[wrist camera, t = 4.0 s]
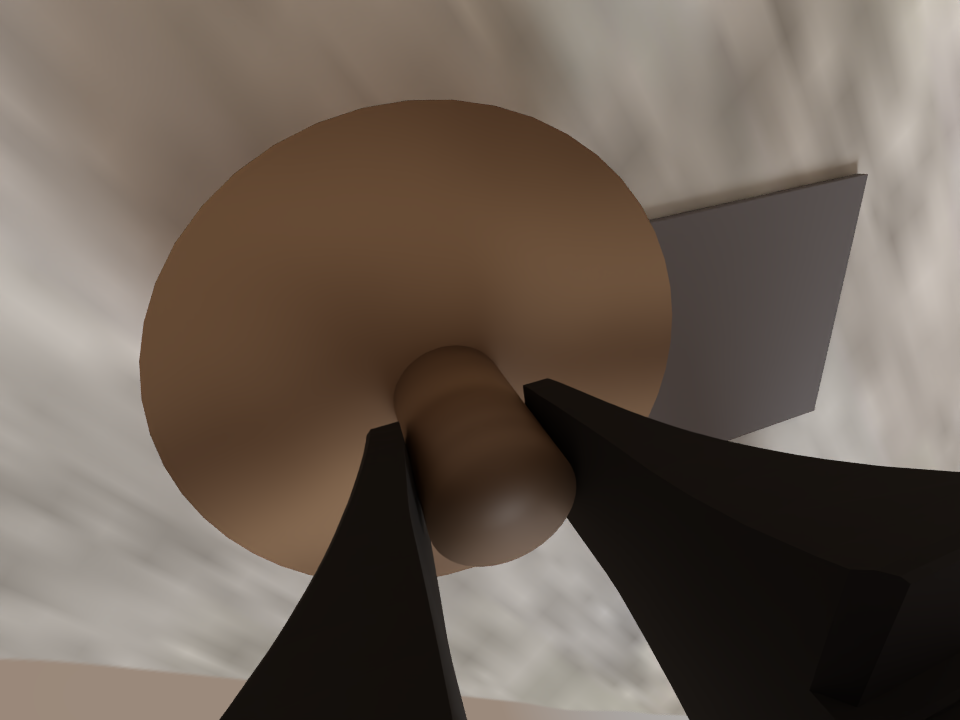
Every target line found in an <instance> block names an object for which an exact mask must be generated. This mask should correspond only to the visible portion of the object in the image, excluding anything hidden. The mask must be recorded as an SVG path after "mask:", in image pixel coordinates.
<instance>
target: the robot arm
mask: <svg viewBox="0 0 960 720" xmlns="http://www.w3.org/2000/svg"><path fill="white" fill-rule="evenodd" d="M523 392H524V401H525V404H526V406H527V407H528V408H529V410H530V411H531V412H532V414H533V415H534V416H535V418H536V419H537V420H538V422H539V423H540V424H541V426H542V427H543V428H544V430H545V431H546V432H547V434H548V435H549V436H550V438H551V439H552V440H553V442H554V443H555V444H556V446H557V447H558V448H559V450H560V451H561V452H562V454H563V455H564V456H565V458H566V459H567V460H568V462H569V463H570V465H571V466H572V469H573V471H574V474H575V478H576V495H575V499H574V503H573V505H572V508H571V510H570V512H569V514H568V516H567V518H568V520H569V521H570V523H571V524H572V525H573V527H574V528H575V530H576V531H577V533H578V534H579V535H580V537H581V538H582V540H583V541H584V542H585V544H586V545H587V547H588V548H589V549H590V551H591V552H592V554H593V555H594V556H595V558H596V559H597V561H598V562H599V563H600V565H601V566H602V568H603V569H604V570H605V572H606V573H607V575H608V576H609V578H610V579H611V581H612V582H613V584H614V586H615V587H616V589H617V590H618V592H619V593H620V595H621V597H622V598H623V600H624V602H625V604H626V605H627V607H628V609H629V611H630V612H631V614H632V616H633V618H634V619H635V621H636V623H637V625H638V626H639V628H640V630H641V632H642V633H643V635H644V637H645V639H646V640H647V642H648V644H649V646H650V648H651V650H652V651H653V653H654V655H655V657H656V659H657V660H658V662H659V664H660V666H661V668H662V670H663V671H664V673H665V675H666V677H667V679H668V680H669V682H670V684H671V686H672V688H673V690H674V691H675V693H676V695H677V697H678V699H679V701H680V703H681V705H682V707H683V709H684V711H685V712H686V714H687V716H688V718H689V720H960V472H951V471H938V470H925V469H911V468H898V467H885V466H875V465H867V464H859V463H851V462H843V461H835V460H827V459H820V458H814V457H807V456H801V455H794V454H789V453H784V452H778V451H773V450H768V449H763V448H757V447H752V446H748V445H743V444H739V443H734V442H730V441H726V440H722V439H718V438H714V437H710V436H707V435H703V434H699V433H695V432H691V431H688V430H685V429H681V428H678V427H675V426H672V425H669V424H666V423H663V422H660V421H657V420H654V419H651V418H648V417H645V416H642V415H640V414H637V413H634V412H631V411H629V410H626V409H624V408H621V407H618V406H616V405H613V404H611V403H608V402H606V401H603V400H601V399H599V398H596V397H594V396H591V395H589V394H587V393H584V392H582V391H580V390H577V389H575V388H572V387H570V386H568V385H565V384H563V383H560V382H558V381H555V380H552V379H549V378H546V379H543V380H539V381H536V382H532V383H529V384H525V385H523ZM220 720H467V718H466V714H465V710H464V707H463V702H462V699H461V695H460V691H459V687H458V683H457V679H456V675H455V671H454V667H453V663H452V659H451V654H450V649H449V645H448V640H447V634H446V628H445V622H444V616H443V610H442V604H441V598H440V592H439V586H438V580H437V574H436V568H435V562H434V556H433V551H432V545H431V540H430V537H429V534H428V530H427V526H426V523H425V519H424V515H423V512H422V508H421V505H420V501H419V497H418V494H417V489H416V484H415V479H414V474H413V470H412V467H411V463H410V459H409V456H408V452H407V448H406V444H405V441H404V437H403V433H402V430H401V426H400V423H399V421H398V422H394V423H391V424H387V425H384V426H380V427H377V428H373V429H370V431H369V432H368V434H367V435H366V443H365V448H364V452H363V456H362V460H361V464H360V467H359V471H358V474H357V477H356V480H355V483H354V486H353V489H352V492H351V495H350V498H349V500H348V503H347V505H346V508H345V510H344V513H343V515H342V517H341V520H340V522H339V524H338V527H337V529H336V532H335V534H334V536H333V538H332V541H331V543H330V545H329V547H328V549H327V551H326V553H325V555H324V557H323V559H322V561H321V563H320V565H319V567H318V569H317V571H316V573H315V574H314V576H313V578H312V580H311V582H310V584H309V586H308V587H307V589H306V591H305V592H304V594H303V596H302V598H301V599H300V601H299V603H298V604H297V606H296V608H295V609H294V611H293V613H292V614H291V616H290V618H289V619H288V621H287V623H286V624H285V626H284V627H283V629H282V631H281V632H280V634H279V635H278V637H277V638H276V640H275V642H274V643H273V645H272V646H271V648H270V649H269V651H268V652H267V654H266V655H265V656H264V658H263V659H262V661H261V662H260V663H259V665H258V666H257V668H256V669H255V671H254V672H253V673H252V675H251V676H250V678H249V679H248V680H247V682H246V683H245V685H244V686H243V688H242V689H241V690H240V692H239V693H238V695H237V696H236V698H235V699H234V700H233V702H232V703H231V705H230V706H229V707H228V709H227V710H226V712H225V713H224V714H223V716H222V717H221V718H220Z"/></svg>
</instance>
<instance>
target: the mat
mask: <svg viewBox="0 0 960 720" xmlns="http://www.w3.org/2000/svg"><path fill="white" fill-rule="evenodd" d="M867 176H868V174H855V175H851V176H846V177H842V178H837V179H833V180H828V181H824V182H819V183H815V184H810V185H806V186H801V187H797V188H792V189H788V190H784V191H779V192H775V193H770V194H766V195H761V196H757V197H752V198H748V199H743V200H739V201H734V202H730V203H725V204H721V205H716V206H712V207H707V208H703V209H698V210H694V211H689V212H685V213H680V214H676V215H672V216H667V217H663V218H658V219H654V220H649V221H650V223H651V225H652V227H653V229H654V231H655V233H656V236H657V239H658V242H659V244H660V247H661V250H662V253H663V256H664V259H665V263H666V268H667V273H668V278H669V283H670V288H671V304H672V327H671V343H670V348H669V354H668V359H667V364H666V369H665V373H664V376H663V379H662V383H661V386H660V389H659V392H658V395H657V398H656V400H655V402H654V405H653V407H652V409H651V412H650V414H649V416H648V418H651V419H654V420H657V421H660V422H663V423H666V424H669V425H672V426H675V427H678V428H681V429H685V430H688V431H691V432H695V433H699V434H703V435H707V436H710V437H714V438H718V439H722V440H726V441H728V440H731V439H734V438H737V437H740V436H742V435H745V434H748V433H751V432H754V431H757V430H759V429H762V428H765V427H768V426H771V425H774V424H777V423H779V422H782V421H785V420H788V419H791V418H794V417H797V416H799V415H802V414H805V413H808V412H811V411H814V408H815V404H816V399H817V395H818V391H819V386H820V382H821V378H822V373H823V369H824V364H825V360H826V356H827V351H828V347H829V343H830V338H831V334H832V329H833V325H834V321H835V316H836V312H837V307H838V303H839V299H840V294H841V290H842V286H843V281H844V277H845V272H846V268H847V264H848V259H849V255H850V251H851V246H852V242H853V237H854V233H855V229H856V224H857V220H858V215H859V211H860V207H861V202H862V198H863V194H864V189H865V185H866V180H867Z"/></svg>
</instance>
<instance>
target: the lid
mask: <svg viewBox="0 0 960 720" xmlns="http://www.w3.org/2000/svg"><path fill="white" fill-rule="evenodd" d="M671 327H672V304H671V288H670V283H669V278H668V273H667V268H666V263H665V259H664V256H663V253H662V250H661V247H660V244H659V242H658V239H657V236H656V233H655V231H654V229H653V227H652V225H651V223H650V221H649V219H648V218H647V216H646V214H645V212H644V210H643V208H642V206H641V204H640V203H639V202H638V200H637V199H636V198H635V196H634V195H633V194H632V192H631V191H630V190H629V188H628V187H627V186H626V184H625V183H624V182H623V180H622V179H621V178H620V177H619V176H618V175H617V174H616V173H615V172H614V171H613V170H612V169H611V168H610V167H609V166H608V165H607V164H606V163H605V162H604V161H603V160H602V159H601V158H600V157H599V156H597V155H596V154H595V153H593V152H592V151H591V150H589V149H588V148H586V147H585V146H583V145H582V144H581V143H579V142H578V141H576V140H575V139H574V138H572V137H571V136H569V135H568V134H566V133H564V132H562V131H560V130H558V129H556V128H554V127H552V126H550V125H547V124H545V123H543V122H541V121H539V120H537V119H535V118H533V117H530V116H526V115H523V114H520V113H517V112H513V111H510V110H507V109H504V108H500V107H497V106H492V105H485V104H478V103H471V102H464V101H457V100H408V101H402V102H396V103H390V104H384V105H378V106H372V107H366V108H361V109H358V110H355V111H352V112H349V113H346V114H343V115H340V116H337V117H334V118H331V119H328V120H325V121H322V122H319V123H316V124H314V125H312V126H310V127H308V128H306V129H304V130H302V131H300V132H299V133H297V134H295V135H293V136H291V137H289V138H287V139H285V140H283V141H281V142H279V143H277V144H275V145H273V146H272V147H271V148H269V149H268V150H266V151H265V152H264V153H262V154H261V155H259V156H258V157H257V158H255V159H254V160H253V161H251V162H250V163H248V164H247V165H246V166H244V167H243V168H241V169H240V170H239V171H237V172H236V173H235V174H234V175H233V176H232V177H231V178H230V179H229V180H228V181H227V182H226V183H225V184H224V185H223V186H222V187H221V188H220V189H219V190H218V191H217V192H216V193H215V194H214V195H213V196H212V197H211V198H210V199H209V200H208V201H207V202H206V203H205V204H204V205H203V206H202V207H201V208H200V209H199V211H198V212H197V214H196V215H195V216H194V218H193V219H192V221H191V222H190V223H189V225H188V226H187V227H186V229H185V230H184V232H183V233H182V234H181V236H180V237H179V238H178V240H177V241H176V243H175V244H174V246H173V248H172V250H171V252H170V254H169V256H168V259H167V261H166V263H165V265H164V267H163V269H162V271H161V273H160V275H159V277H158V279H157V281H156V283H155V286H154V290H153V293H152V296H151V300H150V303H149V307H148V310H147V313H146V317H145V320H144V325H143V334H142V342H141V351H140V360H139V365H140V381H141V397H142V403H143V407H144V411H145V415H146V419H147V423H148V427H149V432H150V435H151V437H152V440H153V442H154V444H155V447H156V449H157V451H158V453H159V456H160V458H161V460H162V463H163V465H164V467H165V468H166V470H167V471H168V473H169V474H170V476H171V478H172V479H173V481H174V482H175V484H176V485H177V487H178V488H179V490H180V491H181V493H182V494H183V495H184V496H185V498H186V499H187V500H188V501H189V502H190V503H191V504H192V505H193V506H194V508H195V509H196V510H197V511H198V512H199V513H200V514H201V515H202V516H203V518H205V519H206V520H207V521H208V522H210V523H211V524H212V525H213V526H214V527H216V528H217V529H218V530H219V531H220V532H222V533H223V534H224V535H225V536H227V537H228V538H229V539H231V540H233V541H234V542H236V543H237V544H239V545H241V546H242V547H244V548H246V549H247V550H249V551H250V552H252V553H254V554H256V555H258V556H260V557H263V558H265V559H267V560H269V561H271V562H274V563H276V564H278V565H280V566H283V567H286V568H289V569H293V570H296V571H299V572H302V573H305V574H308V575H313V576H314V574H315V573H316V571H317V569H318V567H319V565H320V563H321V561H322V559H323V557H324V555H325V553H326V551H327V549H328V547H329V545H330V543H331V541H332V538H333V536H334V534H335V532H336V529H337V527H338V524H339V522H340V520H341V517H342V515H343V513H344V510H345V508H346V505H347V503H348V500H349V498H350V495H351V492H352V489H353V486H354V483H355V480H356V477H357V474H358V471H359V467H360V464H361V460H362V456H363V452H364V448H365V443H366V435H367V434H368V432H369V431H370V429H373V428H377V427H380V426H384V425H387V424H391V423H394V422H398V421H399V423H400V426H401V430H402V433H403V437H404V441H405V444H406V448H407V452H408V456H409V459H410V463H411V467H412V470H413V474H414V479H415V484H416V489H417V494H418V497H419V501H420V505H421V508H422V512H423V515H424V519H425V523H426V526H427V530H428V534H429V537H430V540H431V545H432V551H433V556H434V562H435V568H436V574H437V577H438V576H443V575H448V574H451V573H455V572H458V571H462V570H465V569H469V568H472V567H484V566H493V565H498V564H502V563H506V562H509V561H512V560H514V559H517V558H519V557H521V556H523V555H526V554H527V553H529V552H531V551H533V550H534V549H536V548H537V547H539V546H540V545H541V544H543V543H544V542H545V541H546V540H548V539H549V538H550V537H551V536H552V535H553V534H554V533H555V532H556V531H557V530H558V528H559V527H560V526H561V525H562V523H563V522H564V520H565V519H566V517H567V516H568V514H569V512H570V510H571V508H572V505H573V503H574V499H575V495H576V478H575V474H574V471H573V469H572V466H571V465H570V463H569V462H568V460H567V459H566V458H565V456H564V455H563V454H562V452H561V451H560V450H559V448H558V447H557V446H556V444H555V443H554V442H553V440H552V439H551V438H550V436H549V435H548V434H547V432H546V431H545V430H544V428H543V427H542V426H541V424H540V423H539V422H538V420H537V419H536V418H535V416H534V415H533V414H532V412H531V411H530V410H529V408H528V407H527V406H526V404H525V401H524V392H523V385H525V384H529V383H532V382H536V381H539V380H543V379H546V378H549V379H552V380H555V381H558V382H560V383H563V384H565V385H568V386H570V387H572V388H575V389H577V390H580V391H582V392H584V393H587V394H589V395H591V396H594V397H596V398H599V399H601V400H603V401H606V402H608V403H611V404H613V405H616V406H618V407H621V408H624V409H626V410H629V411H631V412H634V413H637V414H640V415H642V416H645V417H648V416H649V414H650V412H651V409H652V407H653V405H654V402H655V400H656V398H657V395H658V392H659V389H660V386H661V383H662V379H663V376H664V373H665V369H666V364H667V359H668V354H669V348H670V343H671Z"/></svg>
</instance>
